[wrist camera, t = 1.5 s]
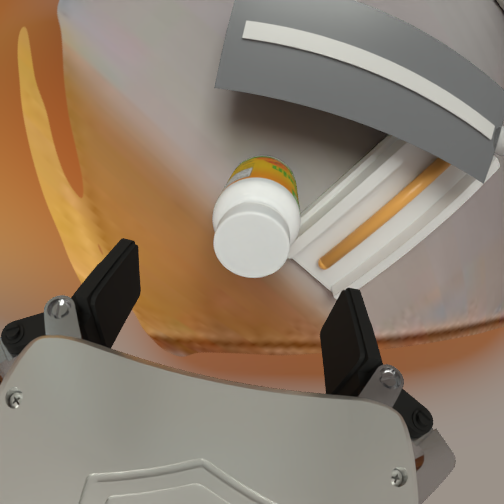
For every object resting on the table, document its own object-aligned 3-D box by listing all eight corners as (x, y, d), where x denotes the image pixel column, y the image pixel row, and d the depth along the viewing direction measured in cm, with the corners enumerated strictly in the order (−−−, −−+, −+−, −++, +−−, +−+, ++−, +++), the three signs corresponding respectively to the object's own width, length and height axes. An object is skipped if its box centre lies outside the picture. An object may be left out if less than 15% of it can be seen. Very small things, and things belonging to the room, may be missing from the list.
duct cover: (502, 101, 12) (521, 106, 10) (479, 180, 16) (496, 192, 14) (246, -11, 11) (241, -25, 9) (222, 88, 16) (213, 87, 13)
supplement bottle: (308, 194, 22) (323, 261, 14) (256, 225, 24) (242, 301, 16) (271, 141, 20) (263, 176, 12) (218, 178, 22) (179, 235, 14)
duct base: (448, 80, 14) (463, 82, 12) (490, 159, 17) (504, 167, 15) (273, 237, 25) (272, 252, 23) (335, 291, 27) (338, 307, 25)
